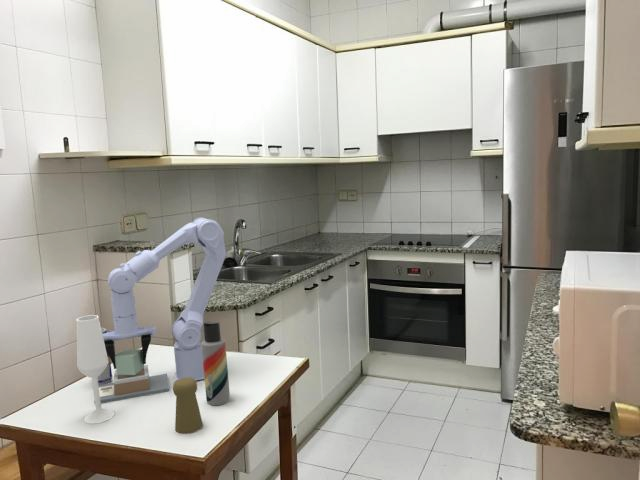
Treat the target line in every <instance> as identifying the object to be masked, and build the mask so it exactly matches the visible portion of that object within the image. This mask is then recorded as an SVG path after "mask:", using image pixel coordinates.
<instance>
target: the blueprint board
mask: <svg viewBox="0 0 640 480" xmlns="http://www.w3.org/2000/svg"><path fill="white" fill-rule="evenodd" d="M168 376H169V375H168V373H162V374H156V375H150V373H149V365H148V364H144V368H143V369H142V370H141V371H139V372H138V373H137V374H136V375H117V371H116V369H114V376H113V382H109V383H108V384H102V385H98V386H99V394H100V402H101V404H105V403H112V402H116V401H121V400H127V399H133V398H139V397H145V396H150V395H151V396H152V395H156V394H161V393H166V392H170V383H169V377H168ZM93 403H95V400H94V402H93Z"/></svg>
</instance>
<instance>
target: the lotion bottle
mask: <svg viewBox="0 0 640 480" xmlns="http://www.w3.org/2000/svg"><path fill="white" fill-rule="evenodd" d="M221 334H222V333H221V323H220V322H219V321H205V322H203V336H204V340H202V341H201V347H202V358H203V369H204V379H203V380H204V389H205V398H206V399H205V400H206V403H207V404H208V405H210V406H220V405H223V404H226V403H228V402H229V401H230V400H231V399H230V398H231V397H230V395H231V394H230V384H229V383H230V381H229V372H228V371H229V369H228V357H227V349H226V339H224V338H222V335H221Z"/></svg>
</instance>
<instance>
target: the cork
mask: <svg viewBox="0 0 640 480" xmlns="http://www.w3.org/2000/svg"><path fill="white" fill-rule="evenodd" d="M197 391H198V383H197V380H196V381H195V380H194V379H193V378H181V379H179V380H177V381H176V380H175V381H174V383H173V385H172V392H173V394H174V396H175V397H176V399H175V400H176V401H175V418H174V419H175V422H174V423H175V424H174V431H175V433H178V434H182V435H188V434H193V433H196V432H198V431H199V430H201V429H202V428H203V426H204V423H203V419H202V415H201V411H200V407H199V402H198V399H197V395H196V393H197Z"/></svg>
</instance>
